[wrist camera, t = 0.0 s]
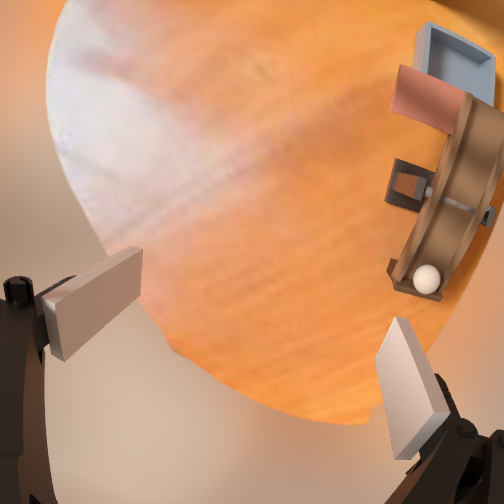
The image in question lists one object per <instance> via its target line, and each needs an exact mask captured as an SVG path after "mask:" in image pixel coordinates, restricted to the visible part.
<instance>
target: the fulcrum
mask: <svg viewBox="0 0 504 504" xmlns="http://www.w3.org/2000/svg"><path fill="white" fill-rule="evenodd" d="M434 175H435V172H432V171H430V170H427V169H424V168H422V167H419V166H416V165H414V164H411V163H408V162H405V161H402V160H400V159H395V160H394V165H393V169H392V173H391V177H390V181H389V185H388V189H387V193H386V196H385V200H384V201H386V202H388V203H392V204H395V205H398V206H401V207H404V208H407V209H410V210H413V211H416V212H419V213H420V211H421V209H422V206H423V204H424V201H425V199H426V197H425V196H422V195H423V192H424V188H425V185H426V186H429V187H430V186H431V183H432V181H433V178H434ZM496 210H497V209H495V208H493V207H491V206H488V208H487V210H486V212H485V215H484V217H483V219H482V221H481V223H480V224H482V225H484V226H486V227H489V228H492V225H493V221H494V218H495V214H496ZM397 262H398V260H395V259H391V260H390V263H389V266H388V268H387V273H388V274H389V276H390V278H391V279H392V277H391V274H392V272H393V270H394V268H395V266H396V264H397Z"/></svg>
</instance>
